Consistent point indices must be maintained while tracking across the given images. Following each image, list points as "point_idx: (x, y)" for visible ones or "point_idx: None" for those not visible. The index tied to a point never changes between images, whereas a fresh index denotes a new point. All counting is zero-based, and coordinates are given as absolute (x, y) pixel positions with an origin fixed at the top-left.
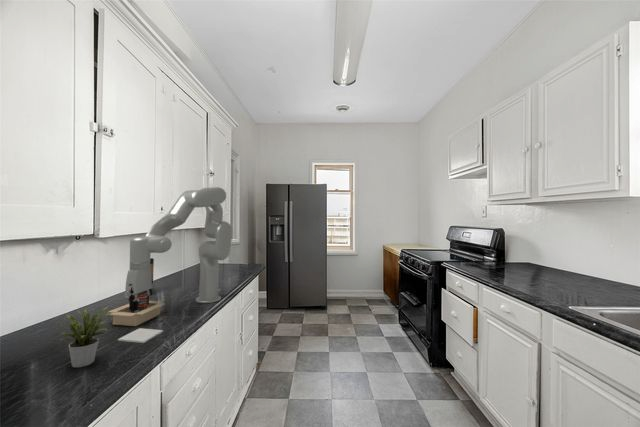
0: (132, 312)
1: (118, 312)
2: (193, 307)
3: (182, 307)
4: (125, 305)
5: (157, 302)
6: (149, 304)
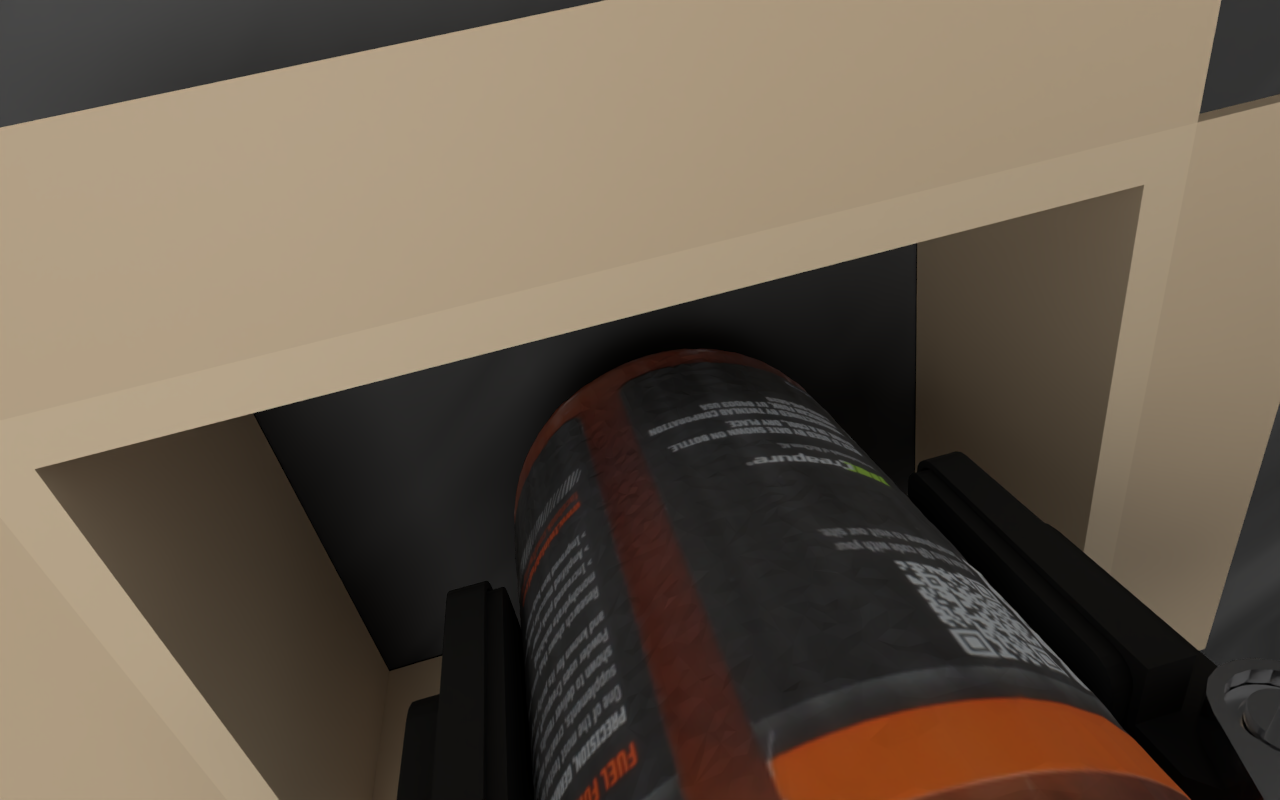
0: (515, 557)
1: (65, 612)
2: (1265, 635)
3: (1276, 526)
4: (709, 50)
5: (1143, 601)
6: (1060, 475)
